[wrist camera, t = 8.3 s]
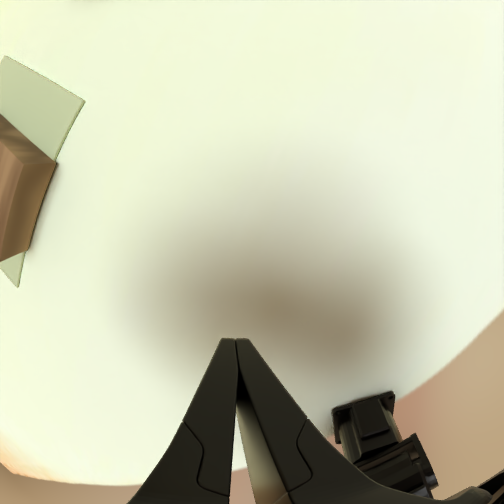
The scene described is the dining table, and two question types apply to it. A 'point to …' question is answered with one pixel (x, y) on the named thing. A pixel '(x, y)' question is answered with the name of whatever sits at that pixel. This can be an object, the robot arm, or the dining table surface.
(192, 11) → the dining table surface
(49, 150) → the mat
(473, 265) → the dining table surface
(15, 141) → the slab
